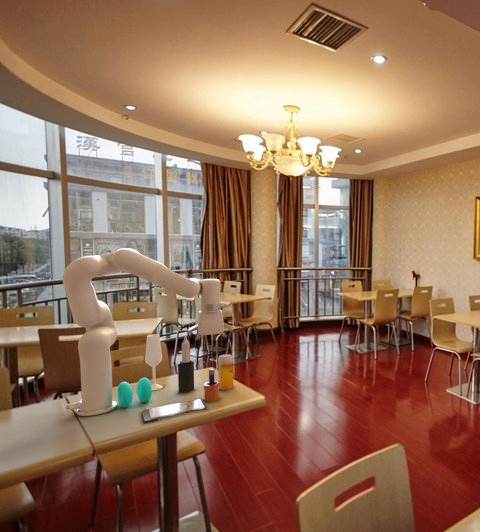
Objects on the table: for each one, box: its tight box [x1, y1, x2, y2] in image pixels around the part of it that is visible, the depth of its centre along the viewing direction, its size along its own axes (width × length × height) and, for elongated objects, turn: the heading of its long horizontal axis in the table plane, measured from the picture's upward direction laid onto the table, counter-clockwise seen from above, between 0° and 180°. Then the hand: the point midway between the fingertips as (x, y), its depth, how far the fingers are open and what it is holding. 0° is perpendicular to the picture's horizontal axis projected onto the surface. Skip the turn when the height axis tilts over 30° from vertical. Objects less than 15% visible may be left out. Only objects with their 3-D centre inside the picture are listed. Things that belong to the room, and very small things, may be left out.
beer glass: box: [217, 353, 234, 391], centre depth 176 cm, size 6×6×15 cm
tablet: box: [142, 398, 206, 424], centre depth 151 cm, size 20×12×1 cm, turn 127°
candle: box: [177, 335, 195, 394], centre depth 171 cm, size 5×5×25 cm
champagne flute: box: [144, 333, 164, 391], centre depth 176 cm, size 7×7×24 cm
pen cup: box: [203, 380, 220, 402], centre depth 162 cm, size 5×5×7 cm
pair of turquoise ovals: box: [116, 377, 153, 409], centre depth 157 cm, size 10×10×10 cm
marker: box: [208, 368, 215, 385], centre depth 162 cm, size 2×2×12 cm
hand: (210, 347), depth 167 cm, fingers open, 9 cm apart
